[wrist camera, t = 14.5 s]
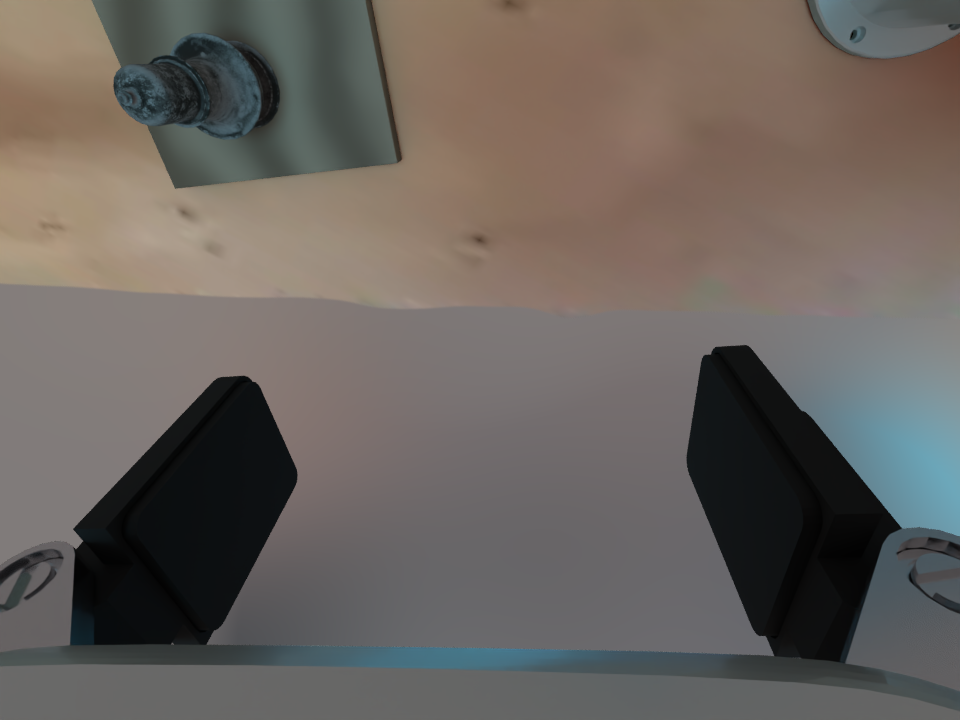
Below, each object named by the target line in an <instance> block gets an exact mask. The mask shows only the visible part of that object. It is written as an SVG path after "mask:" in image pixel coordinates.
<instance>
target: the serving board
mask: <svg viewBox="0 0 960 720" xmlns="http://www.w3.org/2000/svg"><path fill="white" fill-rule="evenodd" d="M92 2H93V4H94V6H95V9H96V11H97V13H98V15H99V18H100V20H101V22H102V25H103V27H104V29H105V31H106V34H107V36H108V38H109V40H110V43H111V45H112V47H113V49H114V52H115V54H116V56H117V58H118V61H119V63H120V65H121V67H124V66H126V65H129V64H149V63H150V62H151V61H152V60H153V59H154V58H156V57H158V56H161V55H170V53H171V51H172V49H173V46H174V45H175V44H176V43H177V42H178V41H179V40H180V39H181V38H183V37H185V36H187V35H190V34H192V33H207V34H211V35H215V36H218V37H220V38H222V39H224V40H225V41H238V42H242V43H246V44H247V45H249V46H251V47H253V48H254V49H256V50H257V51H258V52H259V53H260V54H261V55H262V56H264V57H265V59H266V60H267V62H268V63H269V64H270V66H271V67H272V69H273V71H274V73H275V75H276V78H277V81H278V85H279V89H280V103H279V107H278V111H277V113H276V115H275V116H274V118H273V119H272V120H271V121H270V122H269V123H268V124H266V125H264V126H262V127H259V128H254V129H252V130H251V131H250V132H249V133H248V134H247V135H245V136H243V137H240V138H237V139H230V140H223V139H219V138H215V137H212V136H210V135H208V134H206V133H204V132H202V131H201V130H199V129H198V128H197V127H194V128H185V127H181V126H177V125H175V124H168V125H163V126H149V125H147V126H148V128H149V131H150V133H151V135H152V137H153V140H154V142H155V144H156V146H157V149H158V151H159V153H160V155H161V158H162V160H163V162H164V164H165V167H166V169H167V171H168V173H169V176H170V178H171V180H172V183H173V185H174V187H175V189H176V188H185V187H193V186H202V185H211V184H219V183H228V182H237V181H245V180H254V179H263V178H271V177H280V176H289V175H297V174H306V173H315V172H323V171H332V170H341V169H349V168H358V167H367V166H375V165H384V164H393V163H398V162H399V161H400V160H401V154H400V148H399V143H398V138H397V133H396V128H395V122H394V117H393V112H392V107H391V102H390V96H389V91H388V86H387V81H386V75H385V70H384V65H383V60H382V55H381V49H380V44H379V39H378V34H377V28H376V23H375V18H374V13H373V8H372V2H371V0H92Z"/></svg>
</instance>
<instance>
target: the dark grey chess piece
mask: <svg viewBox="0 0 960 720" xmlns="http://www.w3.org/2000/svg"><path fill="white" fill-rule="evenodd" d="M114 92H115V95H116V98H117V100H118V102H119V104H120V105H121V107H122V108H123V109H124V110H125V111H126V112H127V113H128V115H130V116H131V117H132V118H133V119H135V120H136V121H138V122H140V123H142V124H145V125H149V126H163V125H168V124H175V125H177V126H181V127H185V128H194V127H197V128H198V129H199V130H201V131H202V132H204V133H206V134H208V135H210V136H212V137H215V138H219V139H223V140H230V139H237V138H240V137H243V136H245V135H247V134H248V133H249V132H250V131H251V130H252V129H254V128H259V127H262V126H264V125H266V124H268V123H269V122H270V121H271V120H272V119H273V118H274V116H275V115H276V113H277V111H278V107H279V103H280V89H279V85H278V81H277V78H276V75H275V73H274V71H273V69H272V67H271V66H270V64H269V63H268V62H267V60H266V59H265V57H264V56H262V55H261V54H260V53H259V52H258V51H257V50H256V49H254V48H253V47H251V46H249V45H247V44H246V43H242V42H238V41H225V40H224V39H222V38H220V37H218V36H215V35H211V34H207V33H192V34H190V35H187V36H185V37H183V38H181V39H180V40H179V41H178V42H177V43H176V44H175V45H174V46H173V49H172V51H171V53H170V55H161V56H158V57H156V58H154V59H153V60H152V61H151V62H150V63H149V64H129V65H126V66H124V67H122V68H120V69H119V70H118V71H117V72H116V75H115V77H114Z"/></svg>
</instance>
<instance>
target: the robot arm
mask: <svg viewBox="0 0 960 720" xmlns="http://www.w3.org/2000/svg"><path fill="white" fill-rule="evenodd" d="M807 1H808V4H809V7H810V10H811V13H812V16H813V20H814V21H815V23H816V24H817V26H818V28H819V29H820V31H821V32H822V34H823V35H824V36H825V37H826V38H827V39H828V40H829V41H830V42H831V43H832V44H833V45H834V46H835V47H837V48H839V49H841V50H843V51H845V52H847V53H849V54H851V55H855V56H860V57H865V58H884V59H887V58H895V57H903V56H909V55H912V54H915V53H919V52H922V51H925V50H928V49H931V48H933V47H935V46H937V45H939V44H941V43H943V42H945V41H947V40H949V39H951V38H953V37H955V36H956V35H958V34H959V33H960V0H807ZM852 31H853V36H852V38H851V39H850V35H851V33H852ZM687 468H688V472H689V475H690V477H691V479H692V482H693V484H694V487H695V489H696V492H697V494H698V497H699V499H700V501H701V504H702V506H703V509H704V511H705V514H706V516H707V519H708V521H709V523H710V526H711V528H712V531H713V533H714V535H715V538H716V540H717V543H718V545H719V548H720V550H721V553H722V555H723V557H724V560H725V562H726V565H727V567H728V570H729V572H730V575H731V577H732V580H733V581H734V584H735V587H736V589H737V592H738V594H739V597H740V599H741V601H742V604H743V606H744V609H745V611H746V614H747V616H748V618H749V621H750V623H751V626H752V628H753V630H754V631H755V633H756V634H757V635H759V636H766V637H767V640H768V642H769V644H770V647H771V649H772V651H773V654H774V656H764V655H763V656H762V655H735V654H707V653H681V652H654V651H653V652H652V651H606V650H605V651H604V650H552V649H501V648H439V647H437V648H436V647H370V646H369V647H367V646H366V647H365V646H291V645H290V646H287V645H206V644H207V642H208V640H209V639H210V637H211V635H212V633H213V631H214V630H216V629H218V628H219V627H220V626H221V625H222V624H223V622H224V621H225V619H226V617H227V615H228V613H229V611H230V609H231V607H232V605H233V603H234V601H235V599H236V598H237V596H238V594H239V592H240V590H241V588H242V586H243V585H244V582H245V581H246V579H247V577H248V575H249V573H250V571H251V569H252V567H253V566H254V564H255V562H256V560H257V558H258V556H259V554H260V552H261V550H262V548H263V547H264V545H265V543H266V541H267V539H268V537H269V535H270V533H271V531H272V529H273V527H274V526H275V524H276V522H277V520H278V518H279V516H280V514H281V512H282V510H283V508H284V507H285V505H286V503H287V501H288V499H289V497H290V495H291V493H292V491H293V489H294V487H295V485H296V483H297V469H296V467H295V465H294V462H293V460H292V458H291V456H290V454H289V451H288V449H287V447H286V444H285V442H284V440H283V438H282V435H281V434H280V431H279V429H278V427H277V424H276V422H275V420H274V418H273V415H272V413H271V411H270V409H269V406H268V404H267V402H266V400H265V398H264V396H263V393H262V391H261V389H260V387H259V385H258V384H257V383H256V382H252V380H251V379H250V378H248V377H246V376H233V377H220V378H217V379H216V380H215V381H213V383H211V385H210V386H209V387H208V388H207V389H206V390H205V391H204V392H203V393H202V394H201V395H200V396H199V397H198V398H197V399H196V400H195V402H193V403H192V405H191V406H190V407H189V408H188V409H187V410H186V411H185V412H184V413H183V414H182V415H181V416H180V417H179V418H178V419H177V420H176V421H175V422H174V423H173V424H172V426H171V427H170V428H169V429H168V430H167V431H166V432H165V433H164V434H163V435H162V436H161V437H160V438H159V439H158V440H157V441H156V442H155V444H153V445H152V447H151V448H150V449H149V450H148V451H147V452H146V453H145V454H144V455H143V456H142V457H141V458H140V459H139V460H138V461H137V462H136V463H135V465H133V467H132V468H131V469H130V470H129V471H128V472H127V473H126V474H125V475H124V476H123V477H122V478H121V479H120V480H119V481H118V482H117V483H116V484H115V485H114V487H113V488H112V489H111V490H110V491H109V492H108V493H107V494H106V495H105V496H104V497H103V498H102V499H101V500H100V501H99V502H98V503H97V504H96V505H95V507H94V508H93V509H92V510H91V511H90V512H89V513H88V514H87V515H86V516H85V517H84V518H83V519H82V520H81V521H80V522H79V523H78V525H76V527H75V528H74V529H73V530H74V531H75V532H76V533H77V534H78V535H79V536H80V538H81V539H82V540H83V542H82V543H81V545H80V546H79V547H78V548H77V549H75V548H74V547H73V546H72V545H70V544H68V543H67V542H60V541H54V542H49V543H44V544H40V545H38V546H35V547H32V548H30V549H27V550H25V551H23V552H21V553H20V554H18V555H16V556H14V557H12V558H10V559H9V560H7V561H6V562H4V563H3V564H1V565H0V720H960V537H959V536H956V535H953V534H950V533H946V532H944V531H940V530H934V529H927V528H920V527H918V528H906V529H902V528H901V527H900V525H899V524H898V523H897V522H896V521H895V519H894V518H893V517H892V516H891V514H890V513H889V512H888V511H887V510H886V509H885V507H884V506H883V505H882V503H881V502H880V501H879V500H878V499H877V497H876V496H875V495H874V494H873V492H872V491H871V490H870V489H869V488H868V486H867V485H866V484H865V483H864V482H863V480H862V479H861V478H860V476H859V475H858V474H857V473H856V472H855V470H854V469H853V468H852V467H851V465H850V464H849V463H848V462H847V461H846V459H845V458H844V457H843V456H842V455H841V453H840V452H839V451H838V450H837V448H836V447H835V446H834V445H833V443H832V442H831V441H830V440H829V439H828V437H827V436H826V435H825V434H824V432H823V431H822V430H821V429H820V427H819V426H818V425H817V424H816V423H815V421H814V420H813V419H812V418H811V417H810V416H809V415H808V414H807V413H806V412H804V411H801V410H800V409H799V407H798V406H797V405H796V404H795V403H794V401H793V400H792V399H791V398H790V396H789V395H788V394H787V393H786V391H785V390H784V389H783V388H782V386H781V385H780V384H779V383H778V381H777V380H776V379H775V378H774V376H773V375H772V374H771V373H770V372H769V370H768V369H767V368H766V366H765V365H764V364H763V363H762V361H761V360H760V359H759V358H758V356H757V355H756V354H755V353H754V351H753V350H752V349H751V348H750V347H749V346H747V345H740V346H724V347H715V348H714V349H713V351H712V353H711V355H704V356H703V358H702V362H701V367H700V374H699V381H698V387H697V393H696V400H695V406H694V412H693V418H692V426H691V432H690V438H689V444H688V451H687ZM172 642H173V644H174V645H171V643H172Z"/></svg>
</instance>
